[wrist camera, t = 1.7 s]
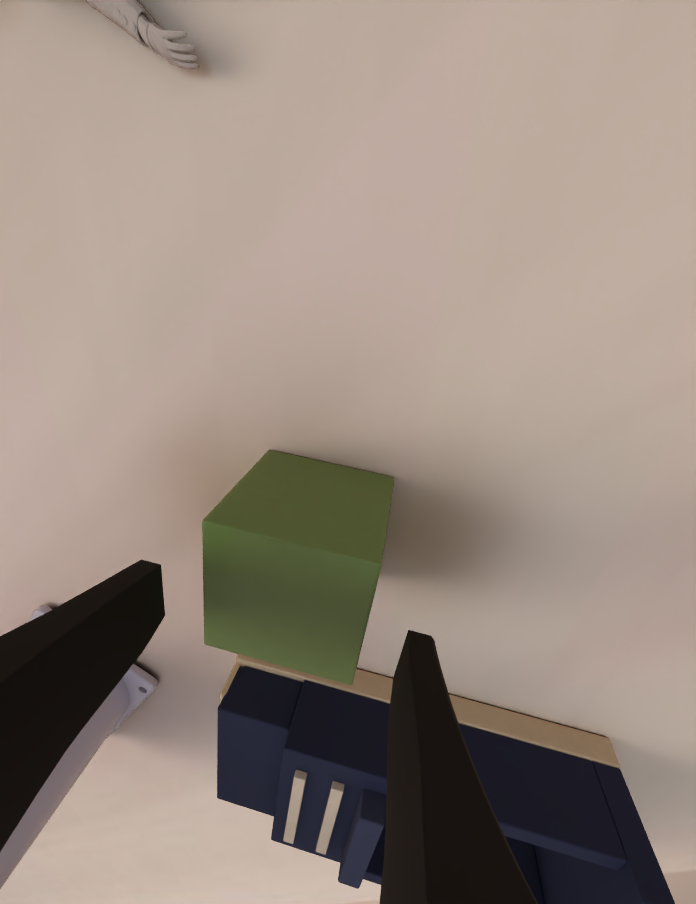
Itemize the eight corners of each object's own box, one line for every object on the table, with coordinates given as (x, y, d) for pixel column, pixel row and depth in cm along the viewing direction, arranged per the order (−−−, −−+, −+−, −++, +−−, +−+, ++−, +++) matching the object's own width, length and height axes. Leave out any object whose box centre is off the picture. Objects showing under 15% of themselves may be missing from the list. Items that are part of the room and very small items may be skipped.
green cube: (371, 576, 16) (351, 686, 12) (262, 549, 17) (203, 645, 12) (394, 476, 14) (382, 565, 10) (268, 448, 15) (201, 520, 10)
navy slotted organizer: (609, 737, 18) (682, 913, 13) (542, 823, 21) (579, 986, 16) (245, 637, 19) (185, 757, 14) (241, 731, 23) (191, 854, 18)
